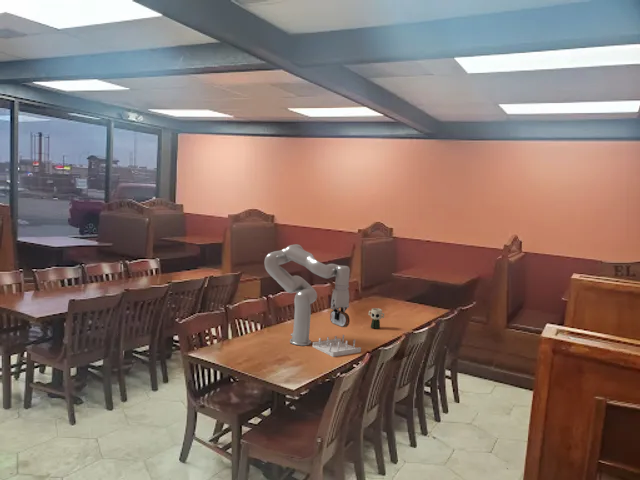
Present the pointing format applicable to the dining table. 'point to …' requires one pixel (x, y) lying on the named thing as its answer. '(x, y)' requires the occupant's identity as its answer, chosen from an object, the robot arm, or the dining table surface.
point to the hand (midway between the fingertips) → (339, 318)
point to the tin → (340, 319)
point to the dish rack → (336, 347)
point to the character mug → (376, 317)
